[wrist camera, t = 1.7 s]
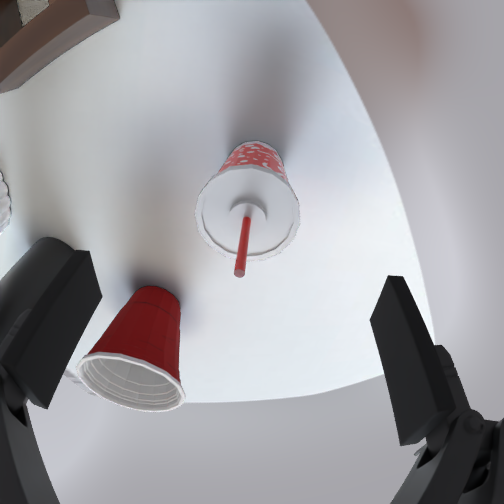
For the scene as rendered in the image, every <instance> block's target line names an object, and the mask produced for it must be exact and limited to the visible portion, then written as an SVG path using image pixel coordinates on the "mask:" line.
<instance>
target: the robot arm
mask: <svg viewBox="0 0 504 504" xmlns="http://www.w3.org/2000/svg"><path fill="white" fill-rule="evenodd" d="M101 299H102V294H101V291H100V287H99V284H98V280H97V277H96V273H95V270H94V266H93V262H92V259H91V255H90V251H84V250H75V252H74V253H73V254H72V256H71V257H70V258H69V259H68V261H67V262H66V263H65V264H64V266H63V267H62V268H61V270H60V271H59V272H58V274H57V275H56V276H55V278H54V279H53V280H52V282H51V283H50V284H49V286H48V287H47V289H46V290H45V291H44V293H43V294H42V296H41V297H40V299H39V300H38V301H37V303H36V304H35V306H34V307H33V309H27V310H25V311H24V312H23V313H22V314H21V315H20V316H19V317H18V318H17V320H16V321H15V323H14V324H13V327H11V329H10V330H9V332H8V335H6V337H5V338H4V340H3V341H2V343H1V345H0V504H60V503H59V500H58V498H57V496H56V494H55V491H54V489H53V486H52V484H51V481H50V479H49V476H48V474H47V471H46V468H45V466H44V463H43V460H42V457H41V454H40V451H39V448H38V445H37V442H36V438H35V435H34V432H33V428H32V425H31V421H30V417H29V413H28V409H27V406H26V404H25V402H24V400H25V398H26V396H27V398H28V399H30V401H31V402H32V403H33V404H34V405H37V406H39V407H42V408H44V409H48V407H49V404H50V402H51V400H52V397H53V395H54V393H55V390H56V388H57V386H58V384H59V382H60V379H61V377H62V375H63V373H64V371H65V369H66V367H67V364H68V362H69V360H70V358H71V356H72V354H73V352H74V350H75V348H76V346H77V344H78V342H79V340H80V338H81V336H82V334H83V332H84V330H85V328H86V326H87V325H88V323H89V321H90V319H91V317H92V315H93V313H94V311H95V310H96V308H97V306H98V304H99V302H100V301H101ZM370 323H371V326H372V330H373V333H374V337H375V340H376V344H377V347H378V351H379V355H380V358H381V362H382V366H383V370H384V374H385V378H386V382H387V386H388V390H389V394H390V399H391V403H392V408H393V412H394V417H395V421H396V426H397V431H398V436H399V441H400V446H404V445H410V444H416V443H418V442H420V441H421V440H422V439H423V438H424V437H426V441H427V444H425V445H424V446H423V447H422V448H420V449H419V450H418V451H417V452H416V453H415V454H414V455H415V456H417V455H418V454H419V453H420V455H419V457H418V458H417V460H416V462H415V464H414V466H413V467H412V469H411V471H410V473H409V474H408V476H407V478H406V479H405V481H404V483H403V484H402V486H401V488H400V489H399V491H398V492H397V494H396V496H395V497H394V499H393V500H392V502H391V503H390V504H504V418H503V419H502V420H501V421H500V422H498V421H490V420H484V418H483V417H482V415H481V414H480V413H479V412H477V411H475V410H472V409H471V408H470V406H469V403H468V400H467V397H466V395H465V392H464V389H463V386H462V384H461V381H460V378H459V376H458V373H457V371H456V368H454V363H453V361H452V358H451V356H450V354H449V353H448V352H447V350H446V349H445V348H444V347H443V346H442V345H434V344H433V342H432V339H431V337H430V335H429V332H428V330H427V327H426V325H425V323H424V321H423V318H422V316H421V314H420V311H419V309H418V307H417V305H416V303H415V301H414V298H413V296H412V294H411V292H410V290H409V288H408V286H407V284H406V282H405V280H404V277H403V276H390V275H388V277H387V279H386V282H385V284H384V287H383V289H382V292H381V294H380V297H379V299H378V302H377V304H376V307H375V309H374V311H373V314H372V316H371V318H370Z"/></svg>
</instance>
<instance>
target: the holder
mask: <svg viewBox="0 0 504 504" xmlns="http://www.w3.org/2000/svg"><path fill="white" fill-rule="evenodd" d="M48 2H49V5H50V6H49V7H47V8H46V9H45V10H43V11H42V12H41V13H40V14H38V15H37V16H36V17H35V18H33V19H32V20H31V21H30V22H29V23H28V24H26V25H25V26H24V27H22V23H21V19H20V15H19V10H18V6H17V1H16V0H0V94H1V93H4V92H7V91H10V90H14V89H17V88H19V87H20V86H21V85H22V84H23V83H25V82H26V81H27V80H28V79H30V78H31V77H32V76H33V75H35V74H36V73H37V72H38V71H40V70H41V69H42V68H44V67H45V66H46V65H48V64H49V63H50V62H52V61H53V60H55V59H56V58H57V57H59V56H60V55H62V54H63V53H65V52H66V51H67V50H69V49H70V48H72V47H73V46H75V45H77V44H78V43H80V42H81V41H83V40H84V39H86V38H88V37H89V36H91V35H93V34H94V33H96V32H98V31H99V30H101V29H103V28H105V27H106V26H108V25H110V24H112V23H114V22H115V21H117V20H119V19H120V17H119V14H118V11H117V8H116V5H115V2H114V0H48Z"/></svg>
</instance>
